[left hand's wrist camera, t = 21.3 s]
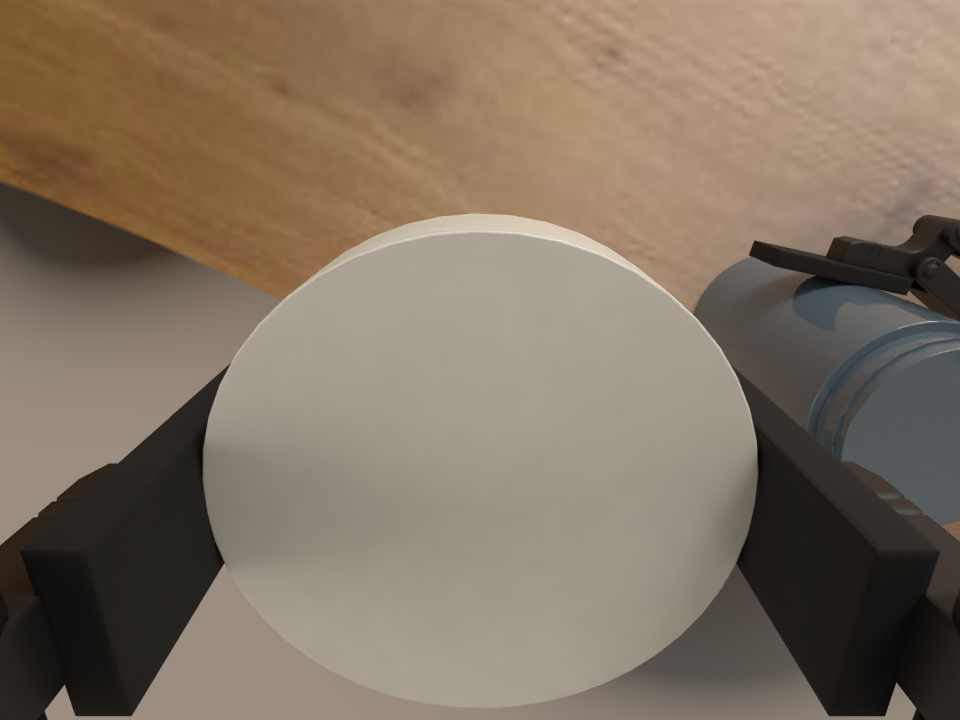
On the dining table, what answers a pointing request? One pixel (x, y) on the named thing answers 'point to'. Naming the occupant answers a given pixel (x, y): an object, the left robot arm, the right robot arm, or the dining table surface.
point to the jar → (850, 372)
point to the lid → (480, 464)
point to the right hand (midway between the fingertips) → (730, 341)
